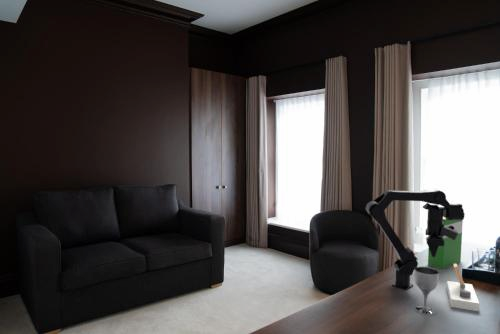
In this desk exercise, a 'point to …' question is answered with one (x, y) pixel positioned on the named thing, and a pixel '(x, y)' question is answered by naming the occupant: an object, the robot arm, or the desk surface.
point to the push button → (465, 293)
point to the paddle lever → (459, 276)
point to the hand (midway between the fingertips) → (433, 256)
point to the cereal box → (448, 248)
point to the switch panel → (461, 301)
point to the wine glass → (426, 286)
